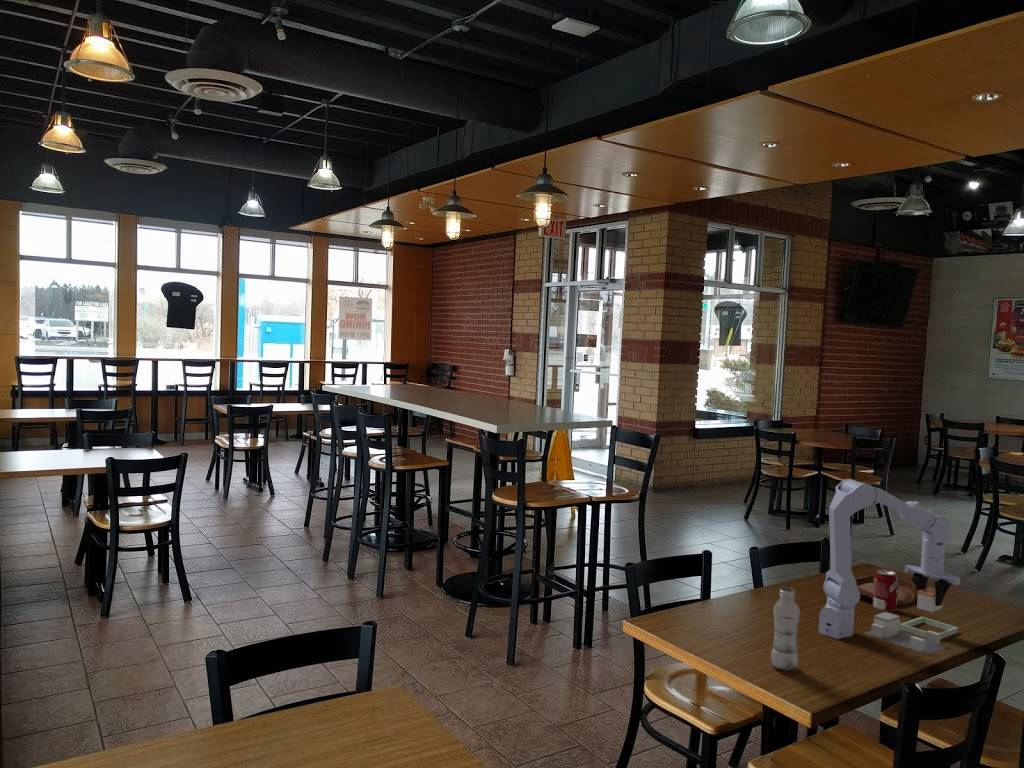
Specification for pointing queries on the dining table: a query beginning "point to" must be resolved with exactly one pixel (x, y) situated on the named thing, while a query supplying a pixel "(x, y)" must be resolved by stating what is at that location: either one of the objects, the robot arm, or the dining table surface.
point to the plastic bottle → (785, 631)
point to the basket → (903, 596)
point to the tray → (908, 625)
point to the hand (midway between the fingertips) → (930, 603)
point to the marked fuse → (927, 600)
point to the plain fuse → (888, 623)
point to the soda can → (885, 590)
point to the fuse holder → (910, 639)
